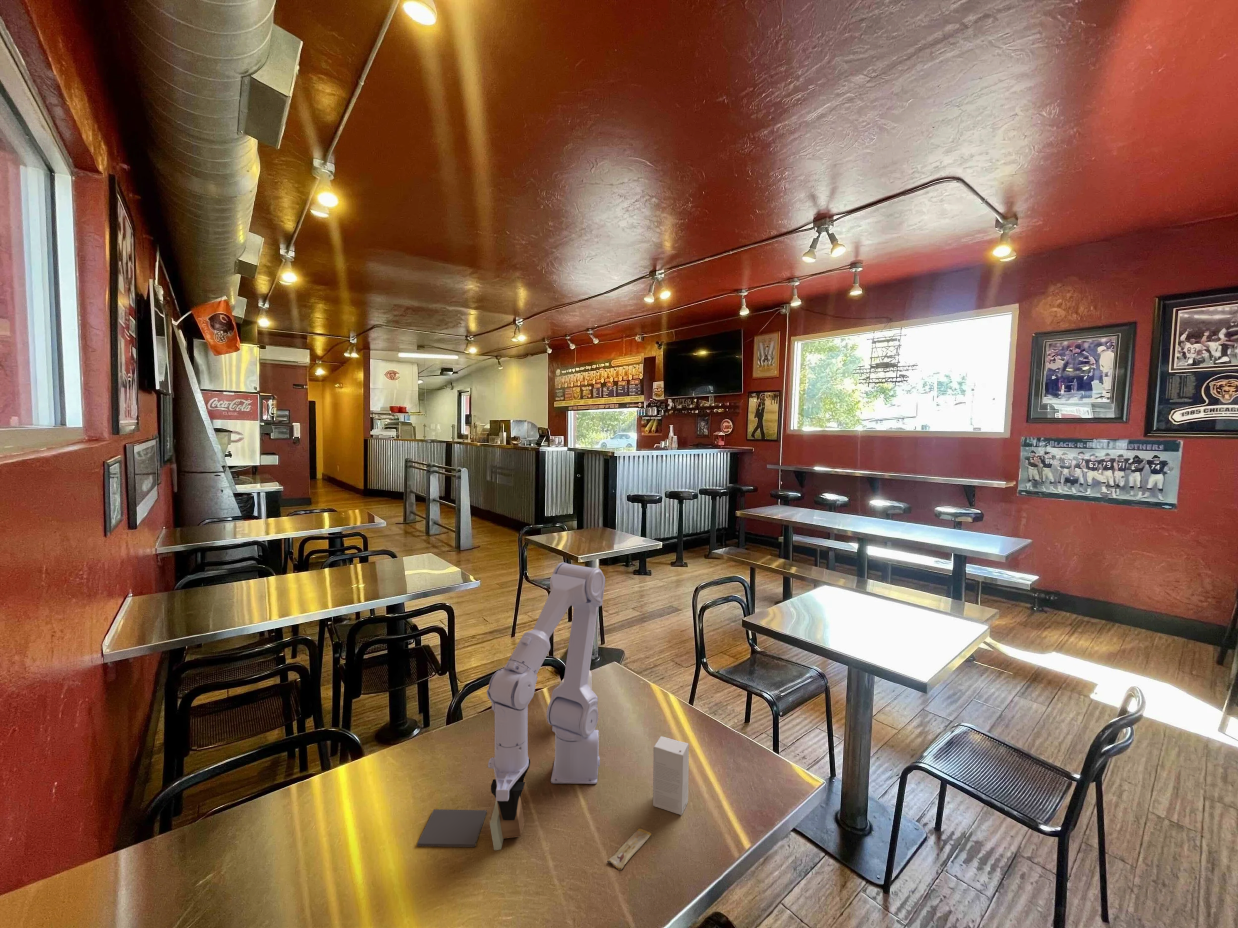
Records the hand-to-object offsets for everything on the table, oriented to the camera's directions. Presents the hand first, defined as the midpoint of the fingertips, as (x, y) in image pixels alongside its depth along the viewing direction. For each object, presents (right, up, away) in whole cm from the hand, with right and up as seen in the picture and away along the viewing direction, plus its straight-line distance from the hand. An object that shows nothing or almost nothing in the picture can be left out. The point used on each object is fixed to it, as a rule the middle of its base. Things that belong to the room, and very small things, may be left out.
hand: (511, 810), depth 92 cm
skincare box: (+29, -5, +8) cm, 31 cm away
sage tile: (-2, -4, 0) cm, 5 cm away
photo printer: (+8, -2, +37) cm, 38 cm away
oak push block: (0, -4, 0) cm, 4 cm away
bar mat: (-11, -4, +1) cm, 12 cm away
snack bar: (+21, -6, -3) cm, 22 cm away
